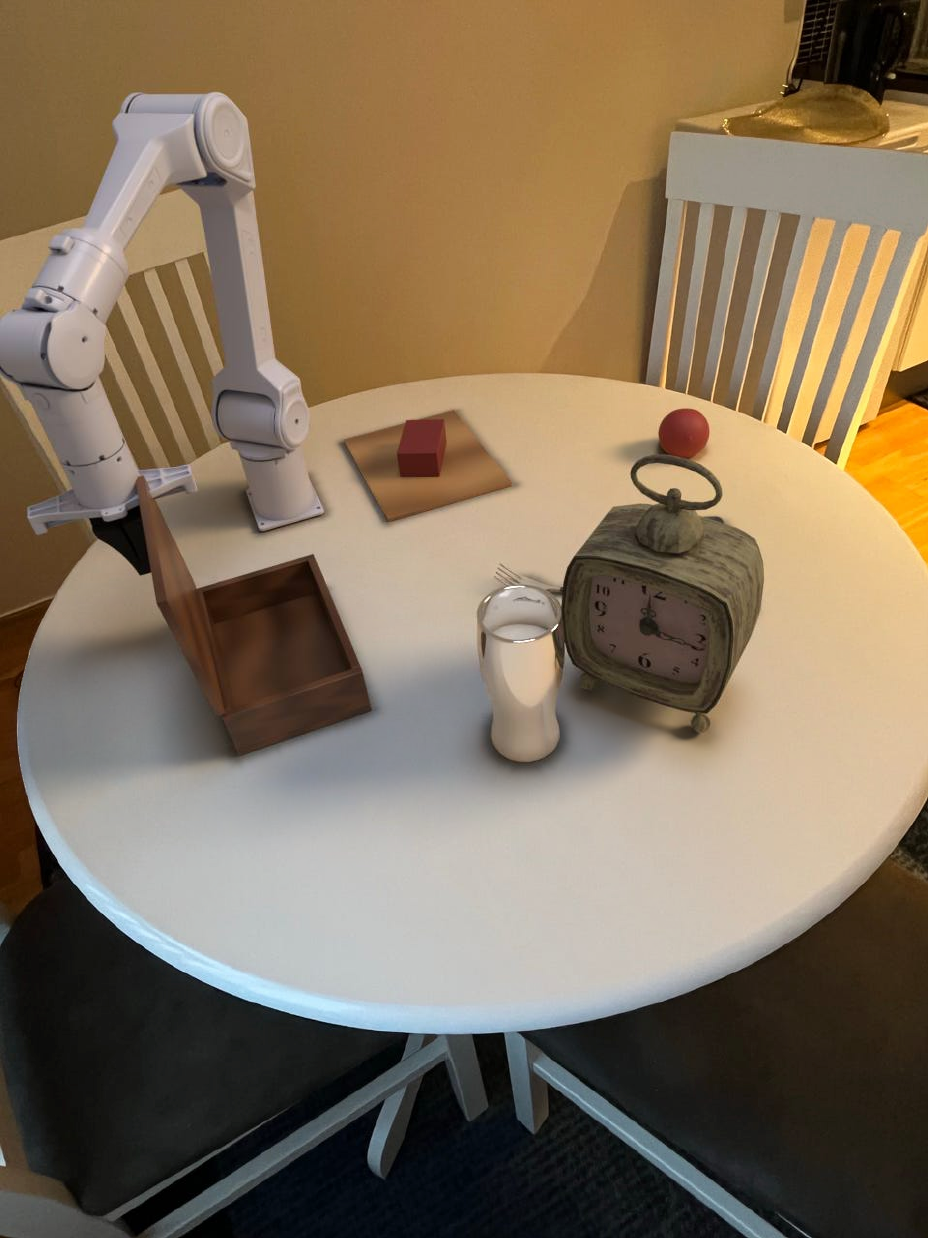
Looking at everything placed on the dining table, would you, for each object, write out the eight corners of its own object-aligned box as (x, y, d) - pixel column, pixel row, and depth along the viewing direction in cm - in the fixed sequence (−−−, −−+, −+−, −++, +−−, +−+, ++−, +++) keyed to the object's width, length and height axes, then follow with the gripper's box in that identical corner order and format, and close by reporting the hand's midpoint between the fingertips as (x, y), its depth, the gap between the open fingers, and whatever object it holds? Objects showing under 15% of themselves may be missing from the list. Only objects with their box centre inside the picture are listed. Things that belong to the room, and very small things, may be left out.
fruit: (656, 470, 105) (662, 439, 98) (656, 429, 107) (662, 396, 99) (706, 470, 105) (716, 439, 97) (705, 429, 106) (715, 395, 99)
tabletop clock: (561, 693, 77) (560, 463, 60) (602, 632, 82) (613, 405, 65) (713, 752, 71) (761, 515, 54) (747, 682, 76) (801, 446, 59)
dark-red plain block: (400, 477, 105) (396, 453, 102) (409, 442, 110) (406, 419, 108) (439, 476, 104) (436, 452, 101) (446, 442, 110) (444, 418, 107)
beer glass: (541, 779, 70) (537, 656, 60) (471, 747, 73) (456, 625, 63) (578, 722, 74) (580, 598, 64) (510, 695, 77) (502, 572, 67)
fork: (646, 613, 84) (647, 598, 83) (494, 591, 88) (493, 577, 87) (649, 596, 86) (651, 582, 84) (500, 576, 90) (499, 561, 89)
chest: (323, 591, 90) (313, 553, 87) (372, 710, 78) (362, 671, 74) (208, 626, 88) (193, 589, 84) (238, 756, 75) (222, 718, 71)
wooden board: (344, 442, 113) (343, 439, 112) (454, 412, 116) (454, 409, 116) (388, 522, 99) (387, 518, 98) (511, 485, 102) (511, 482, 102)
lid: (143, 474, 75) (134, 477, 74) (166, 599, 62) (156, 603, 62) (195, 584, 84) (187, 587, 84) (225, 713, 71) (216, 716, 71)
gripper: (2, 494, 68) (70, 615, 77) (180, 448, 71) (225, 570, 80) (5, 453, 73) (68, 571, 82) (171, 411, 76) (214, 530, 85)
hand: (145, 568), depth 81 cm, fingers closed
